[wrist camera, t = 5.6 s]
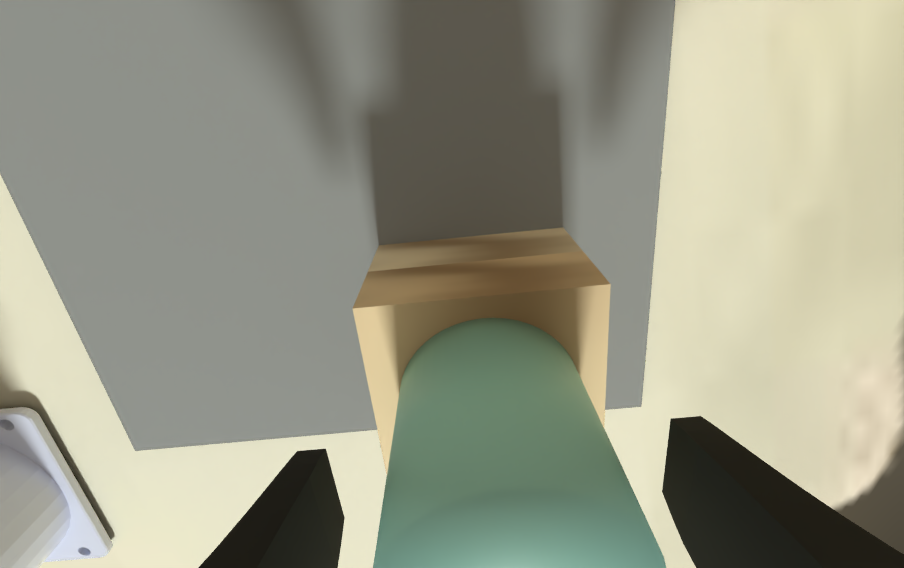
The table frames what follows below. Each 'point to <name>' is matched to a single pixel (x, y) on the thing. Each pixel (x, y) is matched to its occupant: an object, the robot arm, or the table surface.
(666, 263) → the table surface
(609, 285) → the oak slab top
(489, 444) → the green rounded knob
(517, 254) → the birch slab low
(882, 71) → the table surface
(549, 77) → the slate mat
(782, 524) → the robot arm
